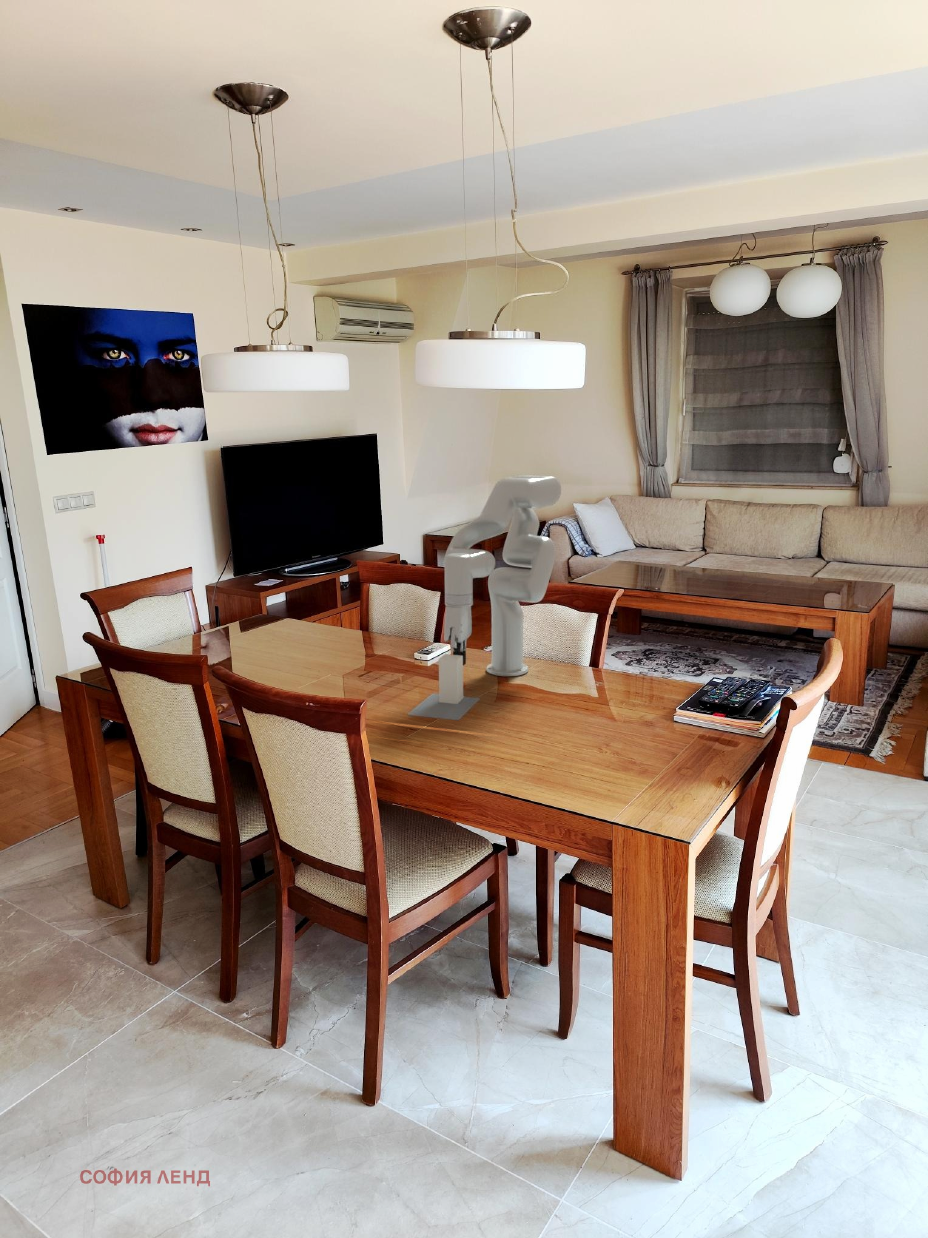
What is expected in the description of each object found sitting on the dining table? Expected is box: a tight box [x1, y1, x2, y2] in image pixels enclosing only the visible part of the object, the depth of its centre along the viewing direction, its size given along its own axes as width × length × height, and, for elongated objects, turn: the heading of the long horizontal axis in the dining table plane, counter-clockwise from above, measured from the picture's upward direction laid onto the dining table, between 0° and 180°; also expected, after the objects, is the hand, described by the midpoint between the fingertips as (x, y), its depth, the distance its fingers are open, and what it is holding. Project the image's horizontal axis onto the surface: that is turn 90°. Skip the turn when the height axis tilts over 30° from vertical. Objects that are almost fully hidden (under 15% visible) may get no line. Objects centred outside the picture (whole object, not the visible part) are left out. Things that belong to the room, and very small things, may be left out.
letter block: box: [438, 653, 464, 704], centre depth 227 cm, size 5×5×12 cm
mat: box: [407, 692, 481, 721], centre depth 223 cm, size 18×14×1 cm
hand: (459, 664), depth 232 cm, fingers closed
